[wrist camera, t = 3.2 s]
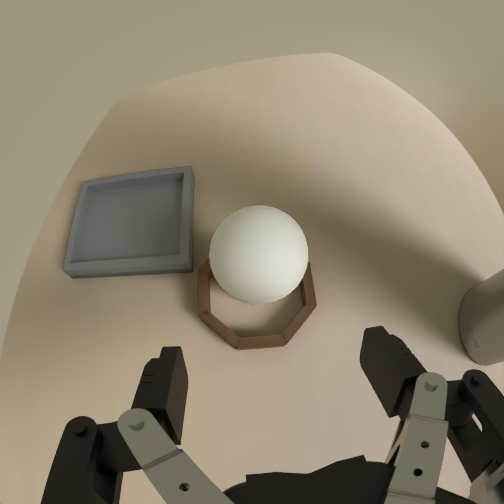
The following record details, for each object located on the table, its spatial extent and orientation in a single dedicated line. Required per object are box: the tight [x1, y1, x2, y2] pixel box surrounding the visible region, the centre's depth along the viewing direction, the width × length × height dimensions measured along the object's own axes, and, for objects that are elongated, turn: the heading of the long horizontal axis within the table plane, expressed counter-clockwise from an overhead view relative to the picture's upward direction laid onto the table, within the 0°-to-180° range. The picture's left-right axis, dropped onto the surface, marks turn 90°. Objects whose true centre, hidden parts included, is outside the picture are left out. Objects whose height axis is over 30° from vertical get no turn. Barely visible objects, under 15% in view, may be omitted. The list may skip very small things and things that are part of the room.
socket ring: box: [198, 259, 317, 350], centre depth 25 cm, size 10×10×2 cm
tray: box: [63, 166, 195, 278], centre depth 27 cm, size 13×11×2 cm
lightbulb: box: [209, 205, 308, 305], centre depth 20 cm, size 6×6×11 cm
